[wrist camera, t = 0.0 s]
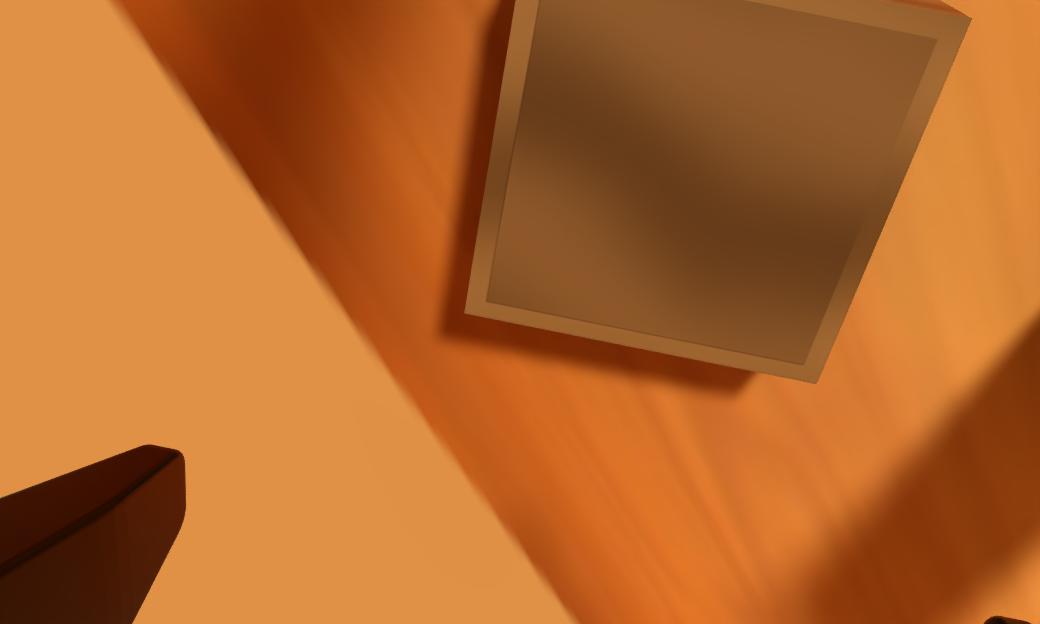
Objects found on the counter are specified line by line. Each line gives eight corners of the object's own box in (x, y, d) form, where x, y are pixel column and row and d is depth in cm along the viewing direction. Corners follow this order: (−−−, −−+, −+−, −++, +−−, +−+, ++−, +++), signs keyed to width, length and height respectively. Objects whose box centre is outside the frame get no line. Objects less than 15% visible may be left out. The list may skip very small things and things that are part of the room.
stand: (539, -86, 20) (527, -72, 17) (925, -8, 20) (973, 18, 17) (480, 260, 24) (463, 314, 22) (795, 323, 24) (817, 385, 22)
